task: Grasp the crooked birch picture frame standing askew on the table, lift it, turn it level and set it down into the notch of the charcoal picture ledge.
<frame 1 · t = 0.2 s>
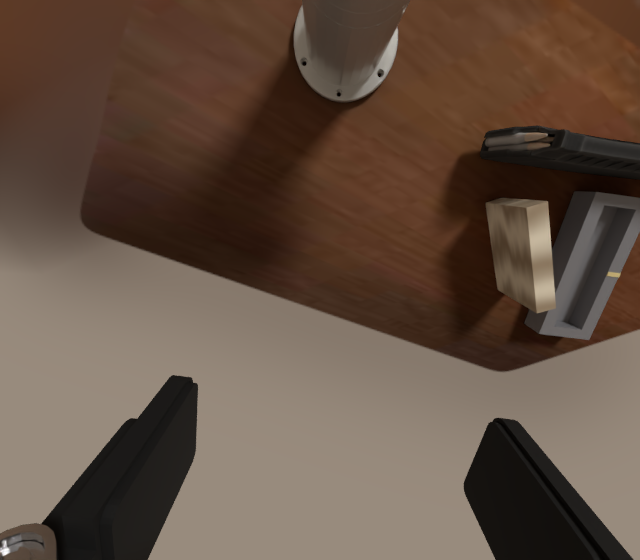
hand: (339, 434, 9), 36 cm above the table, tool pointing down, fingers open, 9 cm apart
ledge: (572, 265, 45), on the table
magazine: (577, 160, 41), on the table
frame: (499, 245, 44), on the table
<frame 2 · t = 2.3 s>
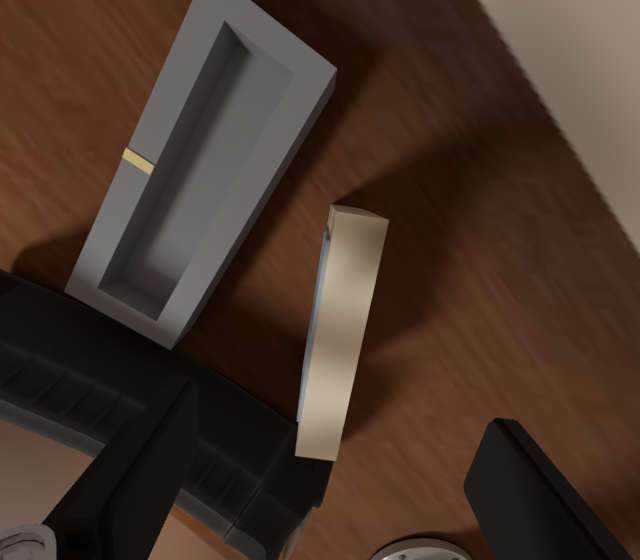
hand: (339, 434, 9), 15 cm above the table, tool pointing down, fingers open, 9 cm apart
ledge: (207, 191, 21), on the table
magazine: (179, 364, 26), on the table
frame: (331, 294, 24), on the table
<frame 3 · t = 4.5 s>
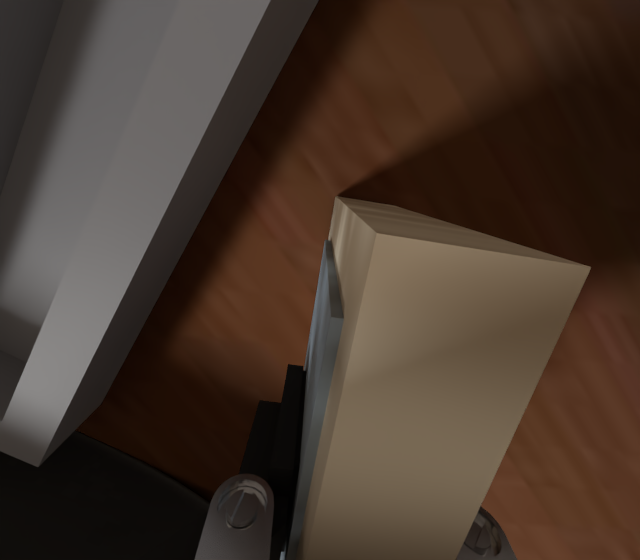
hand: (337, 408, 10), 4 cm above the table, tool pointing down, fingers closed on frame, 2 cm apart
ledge: (101, 173, 11), on the table
magazine: (90, 452, 16), on the table
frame: (335, 352, 14), on the table, touching gripper
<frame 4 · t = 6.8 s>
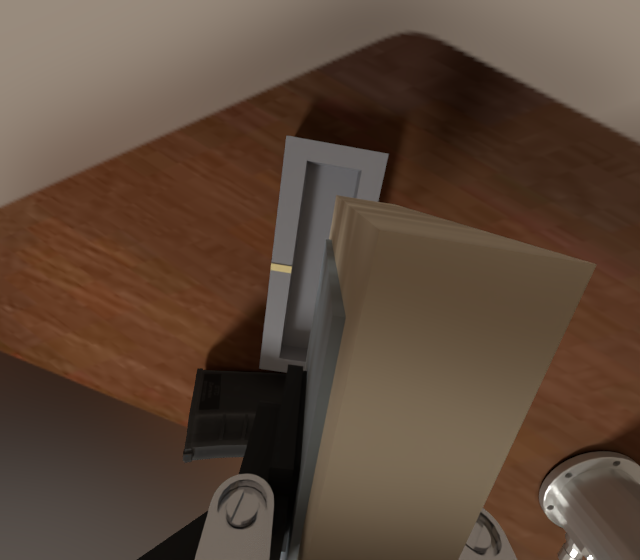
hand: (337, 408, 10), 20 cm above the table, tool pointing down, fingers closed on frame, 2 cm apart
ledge: (317, 263, 29), on the table
magazine: (335, 388, 34), on the table
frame: (335, 351, 14), point 16 cm above the table, touching gripper
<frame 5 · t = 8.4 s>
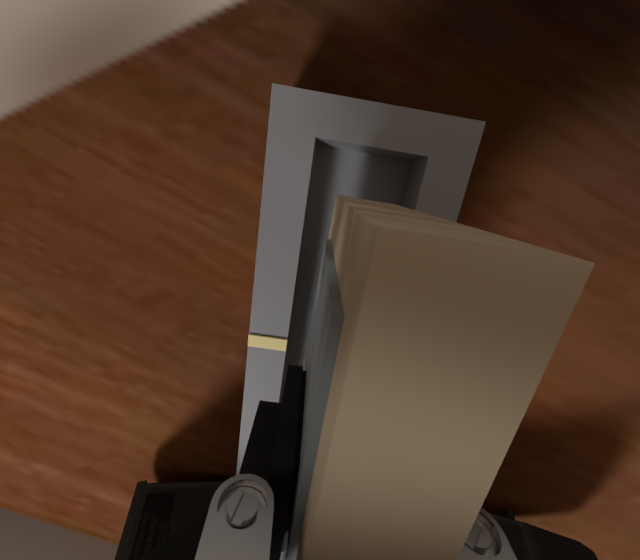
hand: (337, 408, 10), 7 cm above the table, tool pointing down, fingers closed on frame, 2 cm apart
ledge: (330, 319, 17), on the table
magazine: (356, 496, 22), on the table
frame: (335, 351, 14), point 4 cm above the table, touching gripper
when the fingers open (6 cm above the table, at t = 9.3 s): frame drops 1 cm, resting on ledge.
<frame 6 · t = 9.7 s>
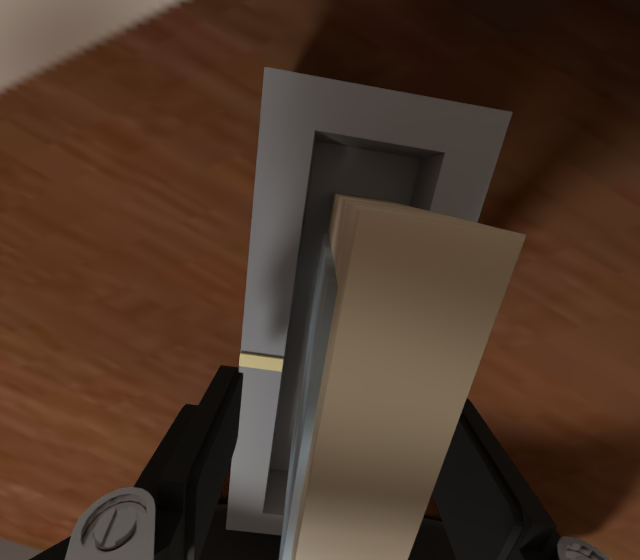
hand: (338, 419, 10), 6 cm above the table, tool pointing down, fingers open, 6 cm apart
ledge: (331, 331, 16), on the table
magazine: (358, 518, 21), on the table
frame: (334, 339, 15), point 1 cm above the table, touching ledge
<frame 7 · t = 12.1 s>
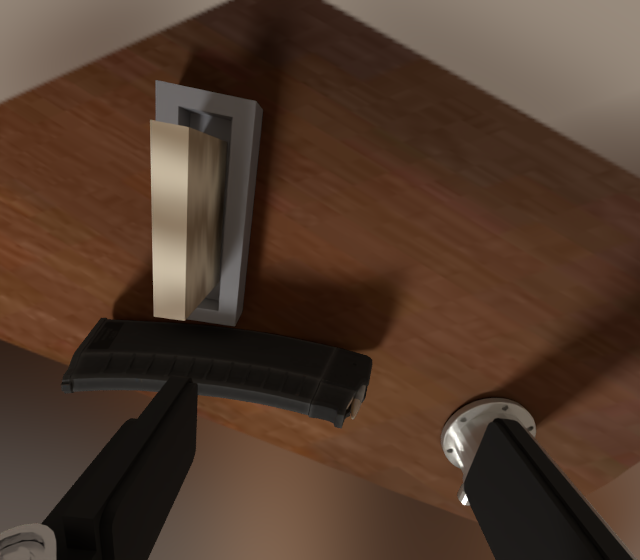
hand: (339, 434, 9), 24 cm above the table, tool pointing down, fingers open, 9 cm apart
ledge: (212, 215, 30), on the table
magazine: (242, 338, 36), on the table
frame: (210, 215, 29), point 1 cm above the table, touching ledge
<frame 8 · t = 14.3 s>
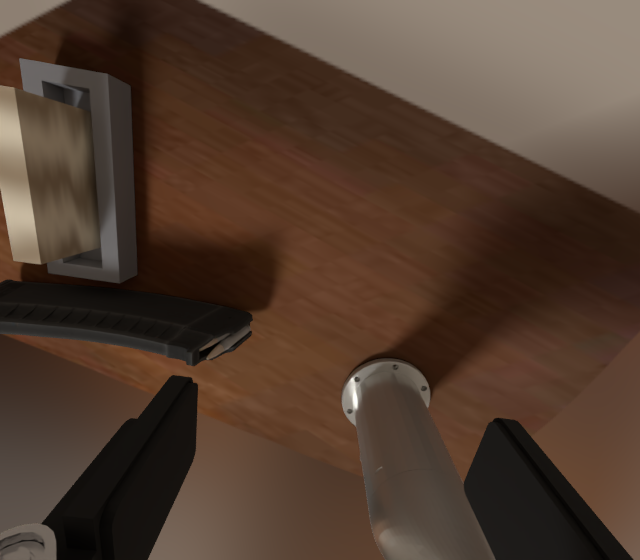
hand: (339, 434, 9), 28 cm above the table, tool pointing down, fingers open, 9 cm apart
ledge: (99, 183, 34), on the table
magazine: (141, 301, 39), on the table
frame: (93, 182, 33), point 1 cm above the table, touching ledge
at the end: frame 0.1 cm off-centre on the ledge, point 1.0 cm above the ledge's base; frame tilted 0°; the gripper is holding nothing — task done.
